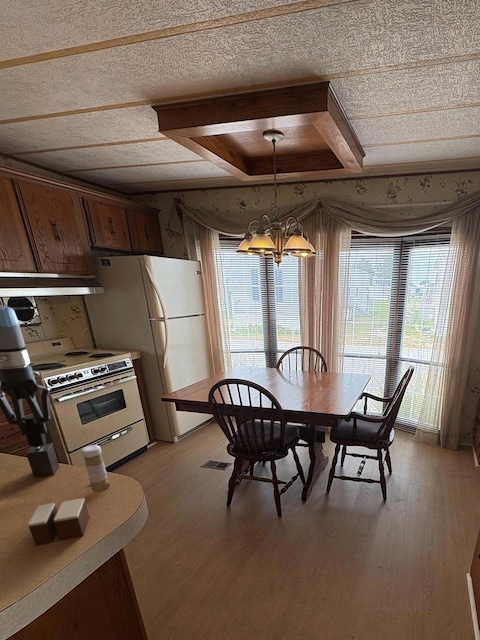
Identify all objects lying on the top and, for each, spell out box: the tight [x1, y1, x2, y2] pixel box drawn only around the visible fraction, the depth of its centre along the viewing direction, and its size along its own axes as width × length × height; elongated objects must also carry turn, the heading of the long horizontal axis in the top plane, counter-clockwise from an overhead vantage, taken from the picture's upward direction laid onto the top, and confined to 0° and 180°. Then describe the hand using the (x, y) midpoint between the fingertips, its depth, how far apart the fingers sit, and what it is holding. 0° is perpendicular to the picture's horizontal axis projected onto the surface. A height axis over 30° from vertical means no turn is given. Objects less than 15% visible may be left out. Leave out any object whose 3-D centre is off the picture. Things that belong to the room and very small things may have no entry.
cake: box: [54, 497, 90, 541], centre depth 84 cm, size 8×5×6 cm, turn 23°
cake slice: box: [27, 502, 58, 546], centre depth 82 cm, size 8×3×6 cm, turn 23°
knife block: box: [25, 442, 60, 479], centre depth 105 cm, size 6×5×10 cm
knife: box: [24, 415, 42, 451], centre depth 103 cm, size 3×2×20 cm, turn 23°
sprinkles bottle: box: [81, 444, 110, 492], centre depth 100 cm, size 5×5×14 cm
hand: (38, 443), depth 103 cm, fingers closed on knife, 2 cm apart
